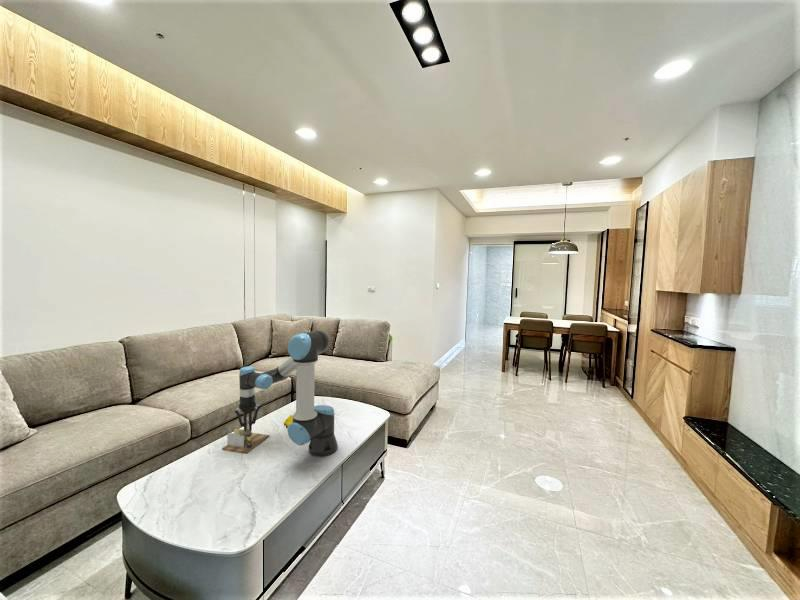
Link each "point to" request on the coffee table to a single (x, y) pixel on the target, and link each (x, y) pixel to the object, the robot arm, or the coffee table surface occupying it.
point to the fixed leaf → (238, 440)
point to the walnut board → (256, 441)
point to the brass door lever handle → (243, 432)
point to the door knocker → (288, 420)
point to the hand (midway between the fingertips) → (247, 436)
